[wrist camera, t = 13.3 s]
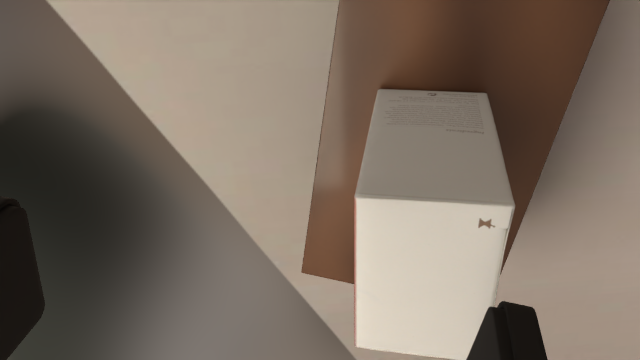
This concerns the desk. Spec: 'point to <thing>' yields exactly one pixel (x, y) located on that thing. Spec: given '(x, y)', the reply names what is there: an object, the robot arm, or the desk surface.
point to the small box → (429, 223)
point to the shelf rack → (444, 75)
